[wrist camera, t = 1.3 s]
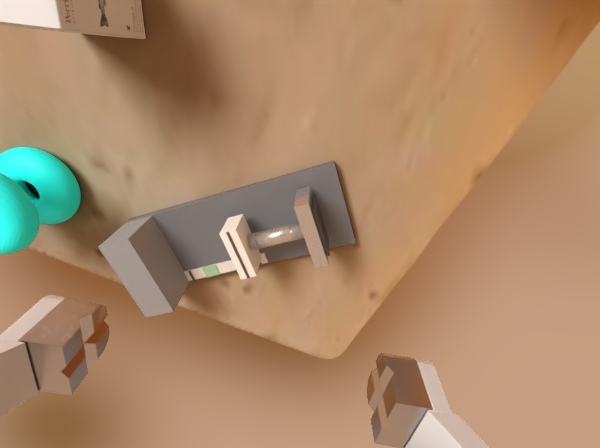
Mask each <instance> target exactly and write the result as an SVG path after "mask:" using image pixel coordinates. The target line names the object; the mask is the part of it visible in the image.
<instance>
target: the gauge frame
mask: <svg viewBox="0 0 600 448" xmlns="http://www.w3.org/2000/svg"><path fill="white" fill-rule="evenodd" d="M309 186H310V189H311V192H312V195H316V198H317V201H318V205H319V208H320V211H321V214H322V218H323V221H324V224H325V227H326V231H327V234H328V237H329V250H330V249H334V248H338V247H343V246H347V245H351V244H356V242H355V237H354V233H353V230H352V226H351V222H350V218H349V215H348V211H347V207H346V203H345V200H344V196H343V192H342V188H341V185H340V181H339V177H338V173H337V170H336V166H335V162H334V161H333V162H329V163H326V164H322V165H319V166H315V167H311V168H308V169H304V170H301V171H297V172H294V173H290V174H287V175H283V176H280V177H276V178H272V179H269V180H265V181H262V182H258V183H255V184H251V185H248V186H244V187H241V188H237V189H234V190H230V191H226V192H223V193H219V194H216V195H212V196H209V197H205V198H202V199H198V200H195V201H191V202H187V203H184V204H180V205H177V206H173V207H170V208H166V209H163V210H159V211H156V212H152V213H148V214H145V215H141V216H138V217H134V218H131V219H129V220H128V221H127V222H126V223H125V224H124V225H122V226H121V227H120V228H119V229H118V230H117V231H116V232H114V233H113V234H112V235H111V236H110V237H109V238H108V239H106V240H105V241H104V242H103V243H102V244H101V245H100V246H98V248H99V250H100V251H101V252H102V254H103V255H104V257H105V258H106V260H107V261H108V263H109V264H110V266H111V267H112V268H113V270H114V271H115V273H116V274H117V276H118V277H119V279H120V280H121V282H122V283H123V284H124V286H125V287H126V289H127V290H128V292H129V293H130V294H131V296H132V297H133V299H134V300H135V302H136V303H137V304H138V306H139V308H140V309H141V311H142V312H143V313H144V315H145V316H146V317H150V316H155V315H159V314H164V313H168V312H173V311H174V310H175V308H176V306H177V305H178V303H179V301H180V299H181V297H182V296H183V294H184V292H185V290H186V289H187V287H188V285H189V283H190V282H192V281H196V280H200V279H205V278H209V277H213V276H218V275H222V274H226V273H231V272H235V271H237V270H236V268H235V266H234V264H233V262H232V260H231V257H230V255H229V253H228V251H227V249H226V247H225V245H224V243H223V241H222V239H221V237H220V235H219V233H220V232H221V230H222V228H223V226H224V224H225V222H226V221H227V219H228V218H229V217H233V216H237V215H241V214H243V215H244V217H245V219H246V222H247V224H248V226H249V229H250V231H251V233H256V232H260V231H264V230H268V229H272V228H276V227H280V226H284V225H287V224H291V223H295V222H299V221H298V218H297V215H296V213H295V210H294V203H295V197H296V191H297V190H298V189H301V188H305V187H309ZM258 250H259V252H260V254H261V257H262V258H261V262H260V265H259V266H261V265H265V264H269V263H274V262H278V261H282V260H287V259H291V258H295V257H299V256H304V255H308V254H310V253H309V250H308V247H307V244H306V241H305V239H304V238H302V239H298V240H294V241H290V242H286V243H282V244H278V245H273V246H269V247H265V248H261V249H258Z"/></svg>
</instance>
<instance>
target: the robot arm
mask: <svg viewBox="0 0 600 448" xmlns="http://www.w3.org/2000/svg"><path fill="white" fill-rule="evenodd" d="M107 315H108V314H107V308H106V306H104V305H101V304H96V303H91V302H85V301H81V300H76V299H71V298H65V297H59V296H54V295H49V296H46V297H44V298H42V299H41V300H40V301H39V302H38V303H37V304H36V305H34V306H33V307H32V308H31V309H30V310H28V311H27V312H26V313H25V314H24V315H23V316H22V317H20V318H19V319H18V320H17V321H16V322H15V323H14V324H12V325H11V326H10V327H9V328H8V329H7V330H6V331H4V332H3V333H2V334H1V335H0V418H1V417H2V416H4V415H5V414H7V413H8V412H10V411H11V410H13V409H14V408H16V407H17V406H19V405H20V404H22V403H24V402H25V401H27V400H28V399H30V398H31V397H33V396H34V395H36V394H37V393H38V391H45V392H52V393H60V394H67V395H72V394H73V393H74V392H75V390H76V389H77V388H78V386H79V385H80V383H81V382H82V381H83V379H84V378H85V376H86V375H87V374H88V369H87V365H89V364H90V363H92V362H94V361H96V360H98V358H99V357H100V356H101V354H102V353H103V351H104V349H105V347H106V344H107V342H108V339H109V326H108V325H107V324H106V323H105V322H104V319H105V318H106V316H107ZM376 365H377V368H376V369H374V370H373V371H371V373H370V376H369V379H368V385H367V398H368V404H369V406H370V407H371V408H372V409H373V411H374V413H373V416H372V418H371V424H372V430H373V436H374V442H375V443H376V444H381V445H387V446H392V447H397V448H490V447H489V446H488V445H487V444H486V443H485V442H484V441H483V440H482V439H481V438H480V437H479V436H478V435H477V434H476V433H475V432H474V431H473V430H472V429H471V428H470V427H469V426H468V425H467V424H466V423H465V422H464V420H463V419H462V418H461V417H460V416H459V415H458V414H453V413H452V411H451V408H450V406H449V403H448V401H447V398H446V396H445V393H444V391H443V388H442V386H441V383H440V380H439V378H438V375H437V373H436V370H435V368H434V365H433V364H432V363H431V362H430V361H427V360H421V359H415V358H409V357H403V356H397V355H391V354H384V353H381V354H380V355H378V357H377V360H376Z"/></svg>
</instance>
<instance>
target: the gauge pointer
mask: <svg viewBox="0 0 600 448" xmlns="http://www.w3.org/2000/svg"><path fill="white" fill-rule="evenodd" d="M249 234H252V233H251V231H250V229H249V226H248V224H247V222H246V219H245V217H244V215H243V214H241V215H237V216H233V217H229V218H228V219H227V221H226V222H225V224H224V226H223V228H222V230H221V232H220V233H219V235H220V237H221V239H222V241H223V243H224V245H225V247H226V249H227V251H228V253H229V255H230V257H231V260H232V262H233V264H234V266H235V268H236V270H237V272H238V274H239V276H240V278H241V279H245V278H250V277H254V276H257V272H258V269H259V265H260V262H261V258H262V257H261V254H260V252H259V250H258V249H257V250H251V248H250V246H249V243H248V235H249Z"/></svg>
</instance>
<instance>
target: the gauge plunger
mask: <svg viewBox="0 0 600 448" xmlns="http://www.w3.org/2000/svg"><path fill="white" fill-rule="evenodd" d="M294 210H295V213H296V215H297V218H298V221H299V222H295V223H291V224H287V225H284V226H280V227H276V228H272V229H268V230H264V231H260V232H256V233H252V234H249V235H248V243H249V246H250V248H251V250H257V249H261V248H265V247H269V246H273V245H278V244H282V243H286V242H290V241H294V240H298V239H302V238H304V239H305V241H306V244H307V247H308V250H309V253H310V256H311V259H312V262H313V264H314V267H315V269H317V268H321V267H326V266H329V263H328V256H330V253H329V237H328V234H327V231H326V227H325V224H324V221H323V218H322V214H321V211H320V208H319V205H318V201H317V198H316V195H312V192H311V189H310V186H309V187H305V188H301V189H298V190H297V191H296V197H295V203H294Z"/></svg>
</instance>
